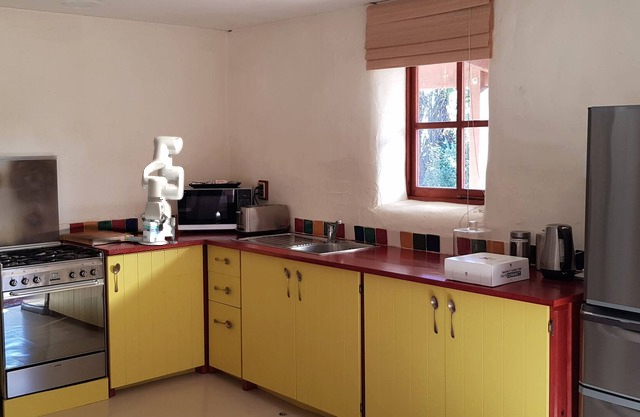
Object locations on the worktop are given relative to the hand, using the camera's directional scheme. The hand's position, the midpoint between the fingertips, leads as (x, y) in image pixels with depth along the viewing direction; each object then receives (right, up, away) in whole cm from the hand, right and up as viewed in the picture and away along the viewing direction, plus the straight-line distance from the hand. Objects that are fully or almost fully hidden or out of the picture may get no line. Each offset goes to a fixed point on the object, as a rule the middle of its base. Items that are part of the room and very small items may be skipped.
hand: (153, 230), depth 422 cm
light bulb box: (0, -6, +1) cm, 6 cm away
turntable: (-5, -7, +2) cm, 9 cm away
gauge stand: (+10, -8, +5) cm, 13 cm away
